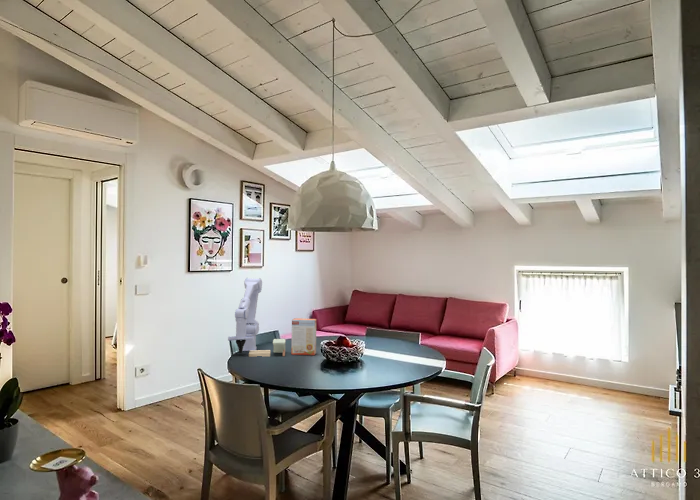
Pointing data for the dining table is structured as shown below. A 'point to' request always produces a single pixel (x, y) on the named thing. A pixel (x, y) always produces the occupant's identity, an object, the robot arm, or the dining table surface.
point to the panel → (259, 353)
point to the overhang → (279, 346)
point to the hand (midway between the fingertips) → (240, 352)
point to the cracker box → (303, 336)
